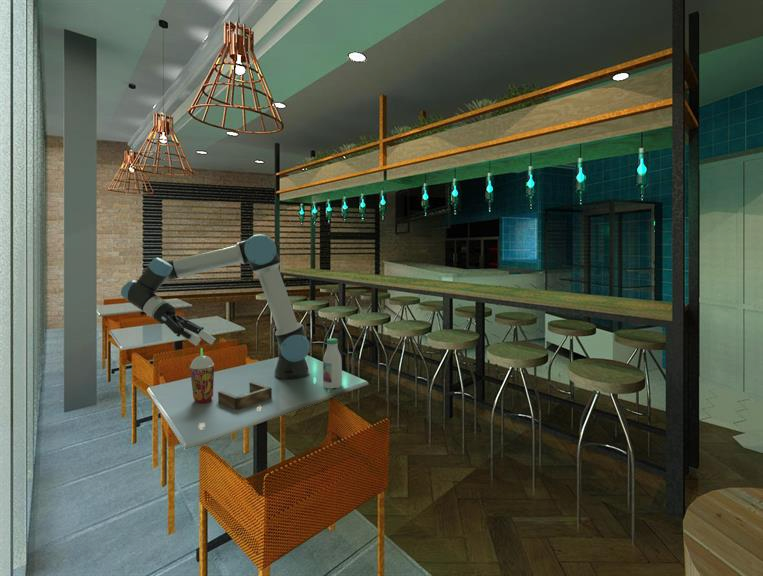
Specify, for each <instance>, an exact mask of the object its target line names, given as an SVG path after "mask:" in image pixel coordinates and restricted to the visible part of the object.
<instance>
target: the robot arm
mask: <svg viewBox="0 0 763 576" xmlns="http://www.w3.org/2000/svg"><path fill="white" fill-rule="evenodd" d="M236 264H242V265H248V264H249V265H250V269H251V271H252V272H253V273H254V274H256V275H257V277H258V279H259V283H260V286H261V289H262V291H263V293H264V296H265V299H266V301H267V305H268V308H269V311H270V313H271V316H272V318H273V321H274V324H275V327H276V331H275V333H274V336H275V338H276V341H277V347H278V348H277V351H278V353H277V355H278V356H277V358H278V359H277V362H276V366H275V368H274V377H275V378H278V379H282V380H296V379H300V378H304V377H307V376H308V375H309V366H308V363H307V360H306V357H307V356H308V354H309V352H310V346H311V344H310V341H309V339H308V338H307V335H306V333H305V330H306V329H305V325H304V324H302V323H301V322H298V321H297V317H296V315H295V312H294V310H293V309H294V308H293V306H292V303H291V301H290V298H289V294H288V291H287V289H286V286H285V284H284V281H283V277H282V275H281V272H280V269H279V267H280V264H281V261H280V258H279V255H278V252H277V246H276V244H275V241H274V240H273V239H272V238H271V237H270V236H268V235H267V234H262V233H258V234H254V235H252V236H250V237H248V238H247V239H246V240H242V241H238V242H237V243H236V244H235V245H232V246H228V247H224V248H220V249H216V250H211V251H207V252H203V253H199V254H195V255H190V256H185V257H181V258H177V259H173V260H168V261H166V260H164V259H163V258H160V257H154V258H153V259H152V260H151V262H149V263H148V265H147V267H146V268H145V270H144V271H143V272H142V274H141V275H140V276H139V278H138V279H137V280H134V279H133V280H129V281H127V282H126V284H124V285H123V286H122V288H121V289H120V295H121V297H122V298H123V299H125V300H126V301H127V302H128V303H129V304H131V305H133V306H135V307H136V308H137V309H139V310H140V311H142V312H144V313H145V314H146V316H147V317H150V318H153V319H154V320H155V321H156V322H157V323H159V324H161V325H165V326H166V327H167V328H169V329H170V331H171V332H172V333H174V335H176V337H178V338H179V337H181V336H182V338H184V339H185V340H187V341H188V342H190V343H191V344H192V345H194V346H196V347H197V346H198V345H199V343H200V342H201V341H202V340H204V341H205V342H206V343H208V344H209V345H213V344H214V343H215V341H216V339H217V338H215V337H214V336H212V335H211V334H210V333H209V332H207V331H205V330H204V328H205V327H203V326H202V327H201V326H200V325H198V324H196V323H195V322H192V320H189V319H187V318H186V317H184V316H183V315H179V314H176V312H177V309H176V307H175V306H173V305H172V304H171V303H169V302H167V301H166V300H165V299H163V298H162V297H161V296H159V295H158V294H156V292H157V291H159V289H160V287H161V286H162V285H163V284H164V282H169V281H171V280H175V279H180V278H183V277H187V276H192V275H196V274H200V273H204V272H208V271H212V270H216V269H221V268H225V267H228V266H232V265H236Z"/></svg>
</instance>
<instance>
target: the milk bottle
mask: <svg viewBox="0 0 763 576" xmlns="http://www.w3.org/2000/svg"><path fill="white" fill-rule="evenodd" d="M326 346H327V347H326V351H325V352H324V356H323V360H322V373H323V374H322V381H323V382H322V384H323V387H324V388H325V389H329V390H334V389H333V388H336V389H340V388H341V387H342V385H343V384H342V383H343V367H342V365H343V363H342V361H343V359H342V355H341V353H340V351H339V348H338V346H339V340H338V338H335V337H333V338H327V339H326Z"/></svg>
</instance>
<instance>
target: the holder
mask: <svg viewBox="0 0 763 576" xmlns="http://www.w3.org/2000/svg"><path fill="white" fill-rule="evenodd" d="M248 384H249V392H244V393H240V394H237V395H235V394H232V393H229V392H227V391H224V390H219V391H218V392H217V397H218V401H217V402H218V403H220V404H221V405H224V406H227V407H229V408H232V409H234V410H236V411H238V410H241V409H244V408H246V407H250V406H252V405H255V404H258V403H259V404H260V403H261V402H264V401H267V400H270V399H272V398H273V397H272V391H273V390H272V387H270V386H268V385H264V384H261V383H258V382H255V381H250V382H249V383H248Z"/></svg>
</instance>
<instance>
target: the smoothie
mask: <svg viewBox="0 0 763 576" xmlns="http://www.w3.org/2000/svg"><path fill="white" fill-rule="evenodd" d="M203 350H204V349H203V347H200V355H198V356H196V357H194V359H193V360H192V361H191V364H190V365H189V368H190V370H189V371H190V379H191V388H192V389H191V390H192V397H193V400H194V402H195V403H197V404H204V403H208V402H210V401H212V399H213V397H214V377H215V363H214V362H213V360H212V358H211V357H209V356H208V355H204V352H203Z"/></svg>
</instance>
